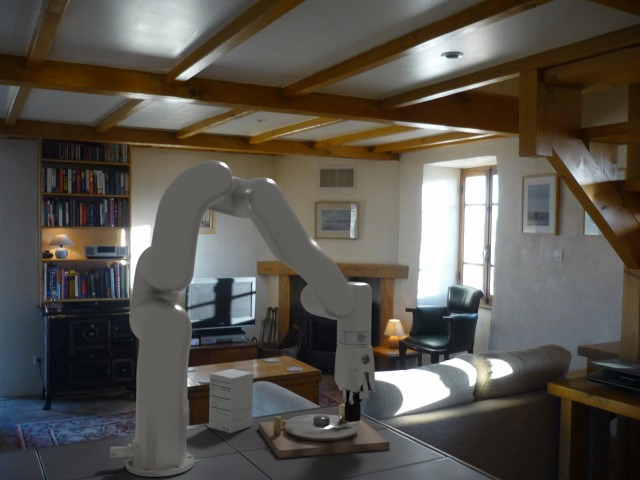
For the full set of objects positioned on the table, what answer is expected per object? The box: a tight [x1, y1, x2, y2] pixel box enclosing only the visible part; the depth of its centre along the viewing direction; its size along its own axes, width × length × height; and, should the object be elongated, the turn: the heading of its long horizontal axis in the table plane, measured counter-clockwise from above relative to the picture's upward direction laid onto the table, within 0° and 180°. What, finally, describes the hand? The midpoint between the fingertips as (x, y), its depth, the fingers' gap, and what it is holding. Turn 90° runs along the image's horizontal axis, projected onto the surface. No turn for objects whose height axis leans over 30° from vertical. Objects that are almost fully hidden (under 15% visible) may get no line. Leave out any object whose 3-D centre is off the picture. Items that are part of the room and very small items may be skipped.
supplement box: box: [208, 368, 254, 434], centre depth 148 cm, size 7×7×13 cm
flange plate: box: [281, 403, 358, 441], centre depth 141 cm, size 16×17×5 cm
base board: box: [258, 415, 390, 459], centre depth 140 cm, size 24×20×5 cm
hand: (352, 420), depth 141 cm, fingers closed
